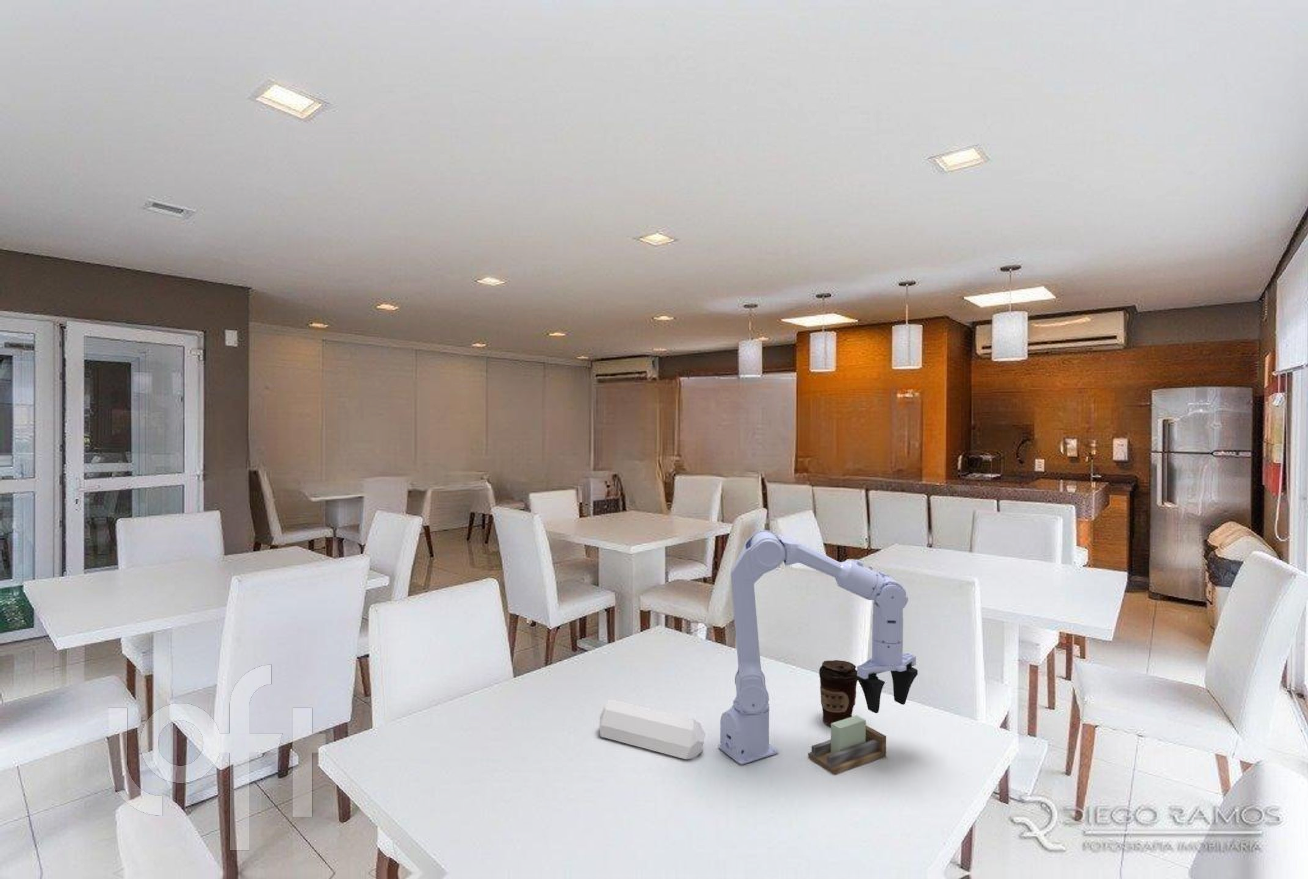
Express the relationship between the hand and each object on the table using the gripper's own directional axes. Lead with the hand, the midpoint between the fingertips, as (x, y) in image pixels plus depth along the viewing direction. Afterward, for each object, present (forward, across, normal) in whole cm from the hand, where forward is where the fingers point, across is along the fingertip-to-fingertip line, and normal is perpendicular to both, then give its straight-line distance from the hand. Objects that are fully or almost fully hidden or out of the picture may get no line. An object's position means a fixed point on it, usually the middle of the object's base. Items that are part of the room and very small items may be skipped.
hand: (886, 706), depth 128 cm
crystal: (+10, -38, +28) cm, 48 cm away
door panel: (+9, -7, +4) cm, 12 cm away
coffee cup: (+10, +2, +15) cm, 18 cm away
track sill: (+10, -7, +4) cm, 13 cm away
